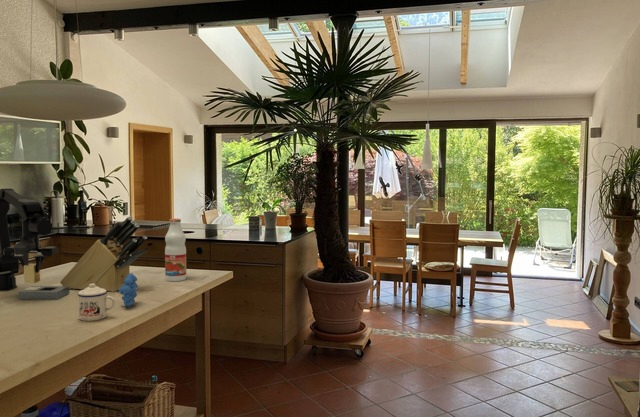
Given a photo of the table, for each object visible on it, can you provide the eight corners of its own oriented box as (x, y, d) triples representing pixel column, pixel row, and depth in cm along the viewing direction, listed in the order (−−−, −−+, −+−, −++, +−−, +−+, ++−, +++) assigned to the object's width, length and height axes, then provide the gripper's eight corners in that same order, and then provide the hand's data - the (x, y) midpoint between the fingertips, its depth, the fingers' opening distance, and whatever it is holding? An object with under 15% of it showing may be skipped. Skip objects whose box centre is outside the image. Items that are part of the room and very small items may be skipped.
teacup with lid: (74, 321, 170) (73, 287, 169) (84, 313, 179) (83, 281, 178) (111, 321, 171) (110, 286, 170) (119, 313, 180) (118, 280, 179)
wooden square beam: (24, 283, 199) (23, 265, 199) (29, 280, 203) (29, 263, 203) (34, 283, 199) (34, 265, 199) (40, 280, 203) (39, 263, 203)
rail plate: (18, 299, 197) (18, 291, 197) (32, 293, 207) (32, 285, 207) (57, 299, 197) (57, 291, 197) (69, 293, 207) (69, 285, 207)
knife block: (135, 293, 207) (133, 218, 205) (59, 289, 214) (57, 216, 212) (149, 287, 218) (148, 215, 216) (77, 283, 225) (75, 213, 223)
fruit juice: (189, 277, 239) (189, 218, 236) (181, 282, 229) (180, 220, 227) (170, 276, 240) (169, 217, 238) (161, 281, 231) (160, 219, 228)
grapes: (123, 301, 195) (123, 270, 194) (141, 301, 196) (141, 270, 195) (113, 310, 184) (112, 277, 183) (132, 309, 184) (131, 277, 183)
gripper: (-7, 235, 192) (-5, 276, 193) (43, 236, 192) (45, 277, 193) (11, 232, 203) (12, 270, 204) (58, 232, 203) (59, 271, 204)
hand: (31, 272), depth 201 cm, fingers closed on wooden square beam, 4 cm apart
